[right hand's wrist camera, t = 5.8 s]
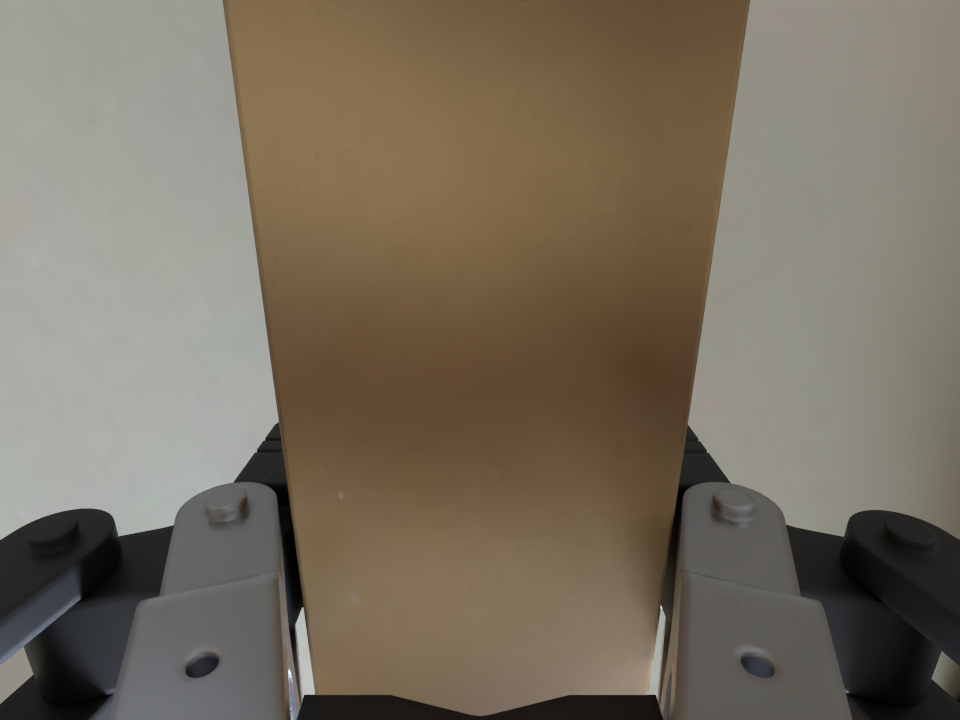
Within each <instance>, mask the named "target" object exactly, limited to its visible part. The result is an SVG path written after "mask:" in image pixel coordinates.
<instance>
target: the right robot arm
mask: <svg viewBox="0 0 960 720" xmlns="http://www.w3.org/2000/svg"><path fill="white" fill-rule="evenodd" d="M302 607H304V606H303V598H302V591H301V583H300V576H299V568H298V561H297V553H296V546H295V538H294V531H293V523H292V516H291V508H290V501H289V493H288V486H287V478H286V471H285V463H284V456H283V448H282V441H281V433H280V426H279V423H277V424H275V426H274V427H273V428H272V430H271V431H270V433H269V434H268V435H267V437H266V440H265V441H263V442H262V444H261V445H260V447H259V448H258V449H257V453H254V455H253V456H252V458H251V459H250V460H249V462H248V463H247V465H246V466H245V467H244V469H243V470H242V471H241V473H240V474H239V476H238V477H237V478H236V480H235V481H234V483H229V484H224V485H220V486H217V487H214V488H211V489H208V490H206V491H204V492H202V493H199V494H197V495H196V496H194V497H193V498H191V499H190V500H188V501H187V502H186V503H185V504H184V505H183V506H182V507H181V508H180V509H179V511H178V512H177V515H176V518H175V523H174V525H173V526H169V527H165V528H161V529H155V530H150V531H145V532H140V533H135V534H129V535H124V536H119V537H118V533H117V529H116V525H115V522H114V519H113V517H112V516H111V515H110V514H109V513H107V512H105V511H102V510H98V509H75V510H69V511H63V512H59V513H55V514H52V515H49V516H46V517H43V518H40V519H38V520H35V521H33V522H31V523H29V524H27V525H25V526H23V527H21V528H19V529H18V530H16V531H14V532H13V533H11V534H9V535H8V536H6V537H5V538H3V539H1V540H0V665H2V664H3V663H4V662H5V661H6V660H8V659H9V658H10V657H11V656H12V655H14V654H15V653H16V652H17V651H19V650H20V649H21V648H22V647H23V646H24V649H25V652H26V654H27V657H28V660H29V663H30V665H31V668H32V671H33V674H34V675H33V676H32V677H30V678H29V679H28V680H27V681H26V682H25V683H24V684H23V685H21V686H20V687H19V688H18V689H17V690H16V691H15V692H14V693H12V694H11V695H10V696H9V697H8V698H7V699H6V700H5V701H3V702H2V703H1V704H0V720H960V700H959V702H957V701H955V700H954V699H953V698H952V697H951V696H950V695H949V694H948V693H946V692H945V691H944V690H943V689H942V688H941V687H940V686H939V685H937V684H936V683H935V682H934V681H933V680H932V679H931V678H932V675H933V673H934V670H935V667H936V664H937V662H938V659H939V656H940V653H941V651H943V652H944V653H945V654H946V655H948V656H949V657H950V658H951V659H952V660H954V661H955V662H956V663H957V664H958V665H960V540H959V539H957V538H955V537H954V536H952V535H951V534H949V533H947V532H946V531H944V530H942V529H940V528H939V527H937V526H935V525H932V524H930V523H928V522H926V521H923V520H921V519H918V518H915V517H912V516H909V515H905V514H901V513H896V512H891V511H883V510H868V511H862V512H858V513H856V514H854V515H853V516H852V517H850V519H849V521H848V524H847V528H846V532H845V535H844V537H841V536H836V535H831V534H826V533H820V532H815V531H810V530H805V529H800V528H796V527H792V526H789V525H786V522H785V518H784V515H783V512H782V511H781V509H780V508H779V507H778V506H777V505H776V504H775V503H774V502H773V501H772V500H770V499H769V498H767V497H766V496H764V495H763V494H761V493H759V492H756V491H754V490H752V489H749V488H746V487H743V486H740V485H736V484H731V483H730V482H729V480H728V479H727V477H726V476H725V475H724V473H723V472H722V471H721V469H720V468H719V466H718V465H717V464H716V462H715V461H714V460H713V458H712V457H711V456H710V454H709V453H707V450H706V449H705V447H704V446H703V445H702V443H701V442H698V438H697V436H696V435H695V434H694V432H693V431H692V430H691V428H690V427H689V426H688V425H687V432H686V439H685V446H684V452H683V459H682V466H681V473H680V480H679V486H678V493H677V500H676V507H675V513H674V520H673V527H672V534H671V541H670V547H669V554H668V561H667V568H666V575H665V581H664V588H663V595H662V602H661V608H663V611H664V613H665V616H666V619H665V626H664V633H663V641H662V653H661V664H660V676H659V688H658V699H657V698H656V695H567V696H563V697H559V698H555V699H551V700H547V701H543V702H539V703H535V704H531V705H527V706H523V707H519V708H515V709H511V710H507V711H503V712H499V713H495V714H491V715H485V716H475V715H469V714H465V713H461V712H457V711H453V710H449V709H445V708H441V707H437V706H433V705H429V704H425V703H421V702H417V701H413V700H409V699H405V698H401V697H397V696H393V695H304V698H303V699H302V687H301V675H300V664H299V652H298V640H297V633H296V626H295V624H296V621H297V619H298V616H299V614H300V611H301V608H302Z"/></svg>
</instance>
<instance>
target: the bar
mask: <svg viewBox="0 0 960 720" xmlns="http://www.w3.org/2000/svg"><path fill="white" fill-rule="evenodd" d="M749 4H750V0H223V5H224V13H225V20H226V28H227V35H228V43H229V50H230V58H231V65H232V73H233V80H234V88H235V95H236V103H237V110H238V118H239V125H240V133H241V140H242V148H243V155H244V163H245V171H246V178H247V186H248V193H249V201H250V208H251V216H252V223H253V231H254V238H255V246H256V253H257V261H258V268H259V276H260V283H261V291H262V298H263V306H264V313H265V321H266V328H267V336H268V343H269V351H270V358H271V366H272V373H273V381H274V388H275V396H276V403H277V411H278V418H279V426H280V433H281V441H282V448H283V456H284V463H285V471H286V478H287V486H288V493H289V501H290V508H291V516H292V523H293V531H294V538H295V546H296V553H297V561H298V568H299V576H300V583H301V591H302V598H303V606H304V613H305V621H306V628H307V636H308V643H309V651H310V658H311V666H312V673H313V681H314V688H315V695H393V696H397V697H401V698H405V699H409V700H413V701H417V702H421V703H425V704H429V705H433V706H437V707H441V708H445V709H449V710H453V711H457V712H461V713H465V714H469V715H475V716H485V715H491V714H495V713H499V712H503V711H507V710H511V709H515V708H519V707H523V706H527V705H531V704H535V703H539V702H543V701H547V700H551V699H555V698H559V697H563V696H567V695H648V690H649V683H650V677H651V670H652V663H653V656H654V649H655V643H656V636H657V629H658V622H659V615H660V609H661V602H662V595H663V588H664V581H665V575H666V568H667V561H668V554H669V547H670V541H671V534H672V527H673V520H674V513H675V507H676V500H677V493H678V486H679V480H680V473H681V466H682V459H683V452H684V446H685V439H686V432H687V425H688V418H689V412H690V405H691V398H692V391H693V384H694V378H695V371H696V364H697V357H698V350H699V344H700V337H701V330H702V323H703V316H704V310H705V303H706V296H707V289H708V282H709V276H710V269H711V262H712V255H713V249H714V242H715V235H716V228H717V221H718V215H719V208H720V201H721V194H722V187H723V181H724V174H725V167H726V160H727V153H728V147H729V140H730V133H731V126H732V119H733V113H734V106H735V99H736V92H737V85H738V79H739V72H740V65H741V58H742V51H743V45H744V38H745V31H746V24H747V18H748V11H749Z"/></svg>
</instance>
